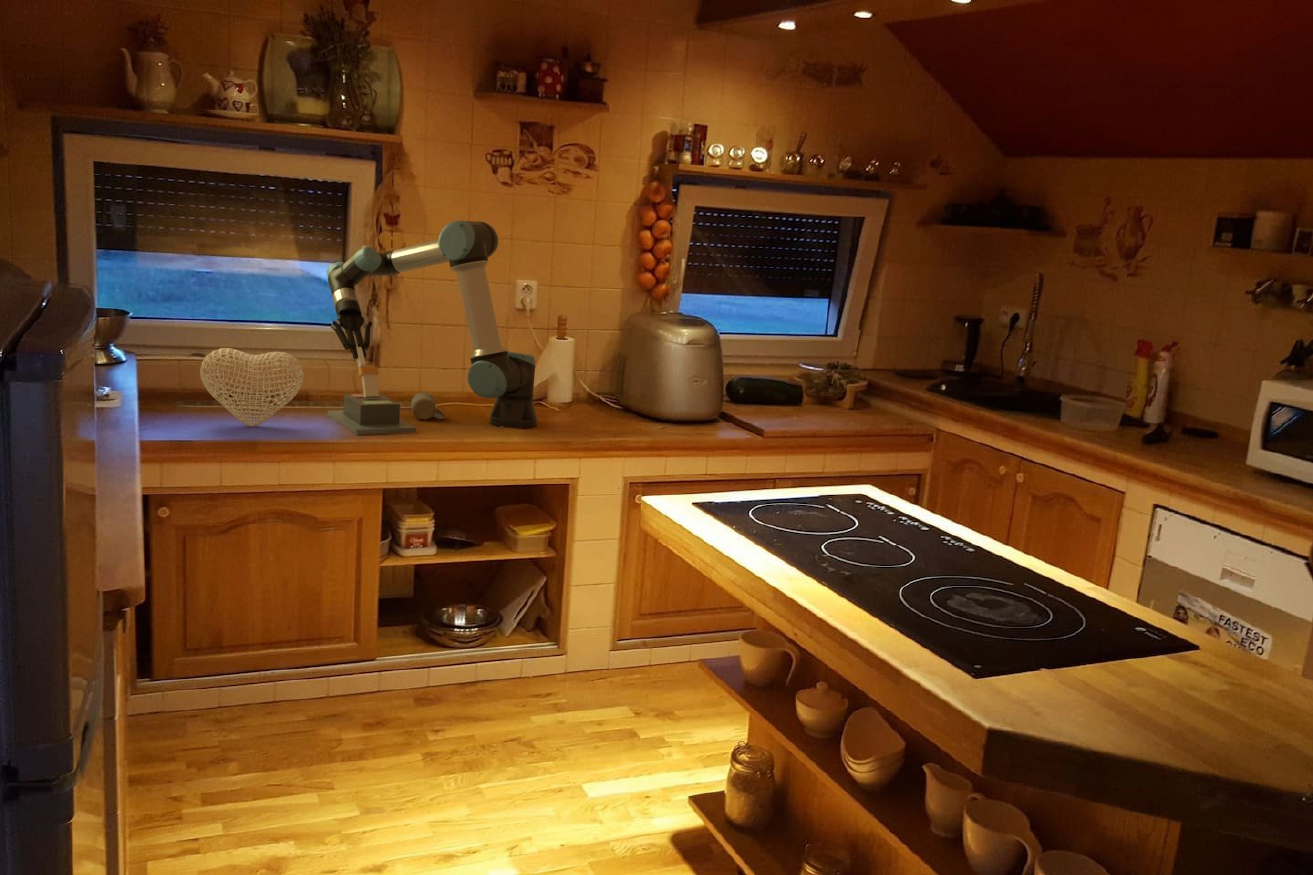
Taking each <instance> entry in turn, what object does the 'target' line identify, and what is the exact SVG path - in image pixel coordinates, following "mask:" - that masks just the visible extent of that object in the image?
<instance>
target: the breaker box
mask: <svg viewBox="0 0 1313 875" xmlns="http://www.w3.org/2000/svg"><path fill="white" fill-rule="evenodd" d="M400 412H401V403H399V402H397V401H395V400H393V399H391V398H390V397H387V396H386V395H384V394H383V393H382V394H381V393H380V394H379V396H378V397H377V398H364V394H363V393H351V394H343V409H339V410H338V409H337V410H334V409H333V410H327V416H328V417H330V418H331V419H333V420H334V421H336V423H338V424H340V425H341V426H342V427H344V428H345V429H347V430H348V431H349V432H352V433H353V434H354V435H355V436H361V435H362V436H363V435H366V434H367V435H368V434H369V435H384V434H385V435H387V434H390V433H393V434H411V433H413V432H416V433H417V427H416V426H414V425H412V424H411V423H409V422H407V421H406V420H404V419H402V418H400V417H401V416H400V415H401V413H400ZM413 434H414V433H413Z"/></svg>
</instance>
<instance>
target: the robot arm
mask: <svg viewBox="0 0 1313 875" xmlns="http://www.w3.org/2000/svg"><path fill="white" fill-rule="evenodd" d="M498 246H499V236H498V233H497V231H496V230H495V229H494V227H493V226H492V225H490V224H489V223H487V222H484V221H472V220H471V221H470V220H465V219H464V220H463V219H460V220H454V221H451V222H448V223H447V224H446V225H445V226H443V228H442V229H441V231H440V233H439V236H438V239H435V240H431V241H427V242H421V243H418V244H414V245H409V246H406V247H402V248H397V249H394V250H389V251H383V252H378V251H377V249H375V248H373V247H371V246H368V245H367V246H363V247H362V248H361V249H359V250H357V251H356V252H355V253H354V254H353V255H352V256H351V257H350V258H349V259H348V260H346V262H343V261H338V262H335V263H331V264H329V266H328V267H327V269H326V278H327V282H328V285H329V288H330V292H331V297H332V301H333V305H334V309H335V313H336V316H337V319H336V320H333V321H332V323H331V325H330V328H331V329H332V330H333V331H334V332H335V334H336V335H337V337H338V340H339V341H340V343H341V344H342V346H343V348H344V350H345V351H348V350H349V352H350V353H351V354H352V358H353V359H354V360H356V363H357V367H358V370H359V369H360V368H361V367H366V358H367V352H366V351H368V350H369V347H370V346H371V328H372V326H373V322H372V321H366V320H365V318H364V317H363V315H362V310H361V306H360V302H359V298H358V294H357V290H356V286H357V285H358V284H360V283H361V282H362V281H363V280H365V279H366V278H367V277H379V276H382V277H383V276H384V277H385V276H387V277H391V276H392V277H393V276H397V275H399V274H401V273H404V272H408V271H414V270H417V269H421V268H426V267H431V266H435V265H440V264H443V263H444V264H445V263H449V268H450V270H451V271H452V272H454V273H455V274H456V276H457V280H458V285H459V289H460V294H461V298H462V303H463V308H464V313H465V317H466V322H467V327H468V331H469V336H470V339H471V340H470V341H471V345H472V348H473V349H472V350H473V352H472V353H471V355H470V356H469V359H470V364H471V365H470V367H469V370H468V371H467V375H466V376H467V383H468V386H469V387H470V389H471V391H472V392H473V393H474V394H476V395H477V396H479V397H480V398H485V399H495V401H494V404H493V406H492V409H491V412H490V414H489V421H488V422H489V424H491V425H493V424H495V425H494V426H496V425H499V426H498V427H500V426H503V427H502V428H507V427H514V428H513V429H525V428H524V427H530V428H533V427H532V426H534V427H536V426H537V425H536V424H538V416H537V412H536V410H535V404H534V388H535V387H534V386H535V385H534V384H535V376H536V373H535V372H536V371H535V370H536V359H535V356H534V355H533V354H528V353H521V352H514V351H508V349H506V347H504V346H503V345H502V342H501V338H500V332H499V329H498V328H499V327H498V324H497V319H496V315H495V310H494V304H493V301H492V296H491V295H492V294H491V291H490V286H489V283H488V282H489V281H488V277H487V272H486V267H487V265H488V263H489V258H490V257H491V256H493V255H494V253H495V252H496V251H497V249H498ZM400 272H401V273H400ZM396 274H397V275H396ZM362 326H363V329H365V330H364V338H363V335H362V329H361V328H362ZM344 330H345V331H344ZM535 425H536V426H535Z"/></svg>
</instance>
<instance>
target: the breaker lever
mask: <svg viewBox="0 0 1313 875" xmlns="http://www.w3.org/2000/svg"><path fill="white" fill-rule="evenodd" d="M379 374H380V372H379V366H365V367H361V368H360V369H359V368H358V376H359V377H361V383H362V394H364V398H377V397H378V396H379V384H378V377H377V376H378V375H379Z"/></svg>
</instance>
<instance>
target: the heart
mask: <svg viewBox="0 0 1313 875" xmlns="http://www.w3.org/2000/svg"><path fill="white" fill-rule="evenodd" d="M231 357H232V358H231ZM236 358H237V359H236ZM218 359H220V360H219V361H217V360H218ZM280 360H281V361H280ZM246 361H247V362H246ZM264 363H265V364H264ZM269 363H270V364H269ZM217 364H218V365H217ZM259 364H260V365H259ZM246 365H247V366H246ZM283 366H284V367H283ZM269 367H270V369H269ZM274 367H275V368H274ZM219 370H220V371H219ZM303 371H304V370H303V367H302V365H301V363H300V361H299V360H298V359H297V358H296V357H294V356H293V354H290V353H287V352H285V351H270V352H264V353H260V354H249V353H247V352H244V351H242V350H238V349H234V348H232V347H231V348H230V347H228V348H227V347H221V348H219V349H214V350H212V351H211V352H210V353H208V354H207V355H206V356H205V357H204V358H203V360H202V361H201V364H200V369H199V372H200V373H199V374H200V379H201V382H202V384H203V386H204V388H205V389H206V391H207V392H208V394H210V395H211V396H212V397H213V398H214V399H215V400H216V402H218V403H219V404H220V405H222V406H223V407H224V408H225V409H226V410H227V411H228V412H230V413H231V415H232V416H234V417H235V419H237V420H238V421H240V422H241V423H242V424H244V425H246V426H247V427H252V428H253V427H258V426H259V425H262V424H263V423H264V422H265V421H267V420H268V419H269V418H271V417H272V416H274V414H276V413H278V411H279V410H281V409H282V408H283V407H285V406H286V405H287V404H288V403H289V402H291V401H292V400H293V399H294V397H296V396H297V394H298V392H299V391H300V390H301V387H302V385H303V382H304V372H303ZM230 372H231V373H230ZM235 373H236V374H235ZM217 376H218V378H216V377H217ZM289 376H290V377H291V378H290V377H289ZM244 377H245V378H244ZM285 377H286V379H285ZM228 379H229V380H228ZM272 379H273V381H272ZM233 380H234V382H233ZM238 381H240V383H239V382H238ZM290 381H291V382H290ZM243 382H245V383H243ZM226 383H228V385H227V384H226ZM248 383H250V384H248ZM280 383H281V384H280ZM285 383H286V384H285ZM231 385H233V387H231ZM236 386H238V388H236ZM259 386H260V387H259ZM220 388H221V389H220ZM242 388H244V389H242ZM248 388H249V389H248ZM227 389H228V391H227ZM276 390H277V391H276ZM265 391H266V392H265ZM271 391H272V392H271ZM242 393H243V394H242ZM285 393H286V394H285ZM230 395H231V396H232V397H230ZM277 395H278V396H277ZM273 396H274V397H273ZM270 401H272V403H270ZM274 404H276V405H274ZM237 405H238V406H237ZM256 410H258V411H256Z"/></svg>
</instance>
